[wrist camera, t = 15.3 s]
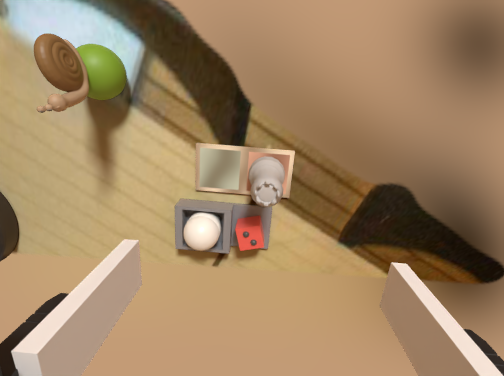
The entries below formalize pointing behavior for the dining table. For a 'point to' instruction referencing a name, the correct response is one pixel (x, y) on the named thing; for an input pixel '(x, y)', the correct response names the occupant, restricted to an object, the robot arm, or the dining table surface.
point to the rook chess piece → (266, 181)
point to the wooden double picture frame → (235, 167)
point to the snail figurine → (78, 71)
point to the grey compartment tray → (227, 224)
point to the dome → (202, 230)
